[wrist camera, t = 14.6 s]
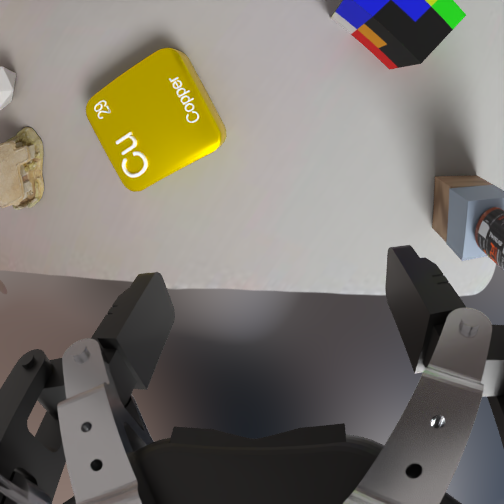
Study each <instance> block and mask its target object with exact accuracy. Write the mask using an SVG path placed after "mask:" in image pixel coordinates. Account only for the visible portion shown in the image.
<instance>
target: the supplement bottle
mask: <svg viewBox="0 0 504 504" xmlns="http://www.w3.org/2000/svg"><path fill="white" fill-rule="evenodd" d="M475 240H476V243H477V245H478V247H479V248H480V249H481V250H482V251H483V252H484V253H485V254H486V255H487V256H488V257H490V258H491V259H492V260H493V261H494V262H495V263H496V264H497V265H498V266H499V267H500V268H501V269H502V270H503V271H504V210H502V209H501V208H498V207H493V208H490V209H488V210H487V211H485V212H484V213H483V214H482V216H481V217H480V219H479V221H478V223H477V225H476V229H475Z"/></svg>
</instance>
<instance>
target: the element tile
mask: <svg viewBox="0 0 504 504" xmlns="http://www.w3.org/2000/svg"><path fill="white" fill-rule="evenodd" d="M86 115H87V118H88V120H89V122H90V124H91V126H92V128H93V130H94V131H95V133H96V135H97V137H98V139H99V141H100V143H101V145H102V147H103V148H104V150H105V152H106V154H107V156H108V158H109V160H110V161H111V163H112V165H113V167H114V169H115V170H116V172H117V174H118V176H119V178H120V179H121V181H122V183H123V184H124V186H125V187H126V188H128V189H129V190H131V191H134V192H135V191H142V190H144V189H145V188H147V187H149V186H150V185H152V184H154V183H156V182H158V181H159V180H161V179H163V178H165V177H167V176H168V175H170V174H172V173H174V172H176V171H178V170H179V169H181V168H183V167H185V166H187V165H189V164H191V163H193V162H195V161H197V160H199V159H201V158H203V157H204V156H206V155H208V154H210V153H212V152H214V151H215V150H216V149H218V148H219V147H220V146H221V145H222V144H223V143H224V142H225V139H226V129H225V126H224V124H223V122H222V120H221V118H220V116H219V114H218V113H217V111H216V109H215V107H214V105H213V103H212V101H211V99H210V97H209V95H208V94H207V92H206V90H205V88H204V86H203V84H202V82H201V80H200V79H199V77H198V75H197V73H196V71H195V69H194V67H193V66H192V64H191V62H190V60H189V58H188V57H187V56H186V55H185V54H184V53H182V52H180V51H178V50H175V49H173V48H163V49H160V50H158V51H156V52H154V53H153V54H151V55H150V56H148V57H147V58H145V59H143V60H142V61H140V62H139V63H137V64H136V65H134V66H133V67H132V68H130V69H129V70H127V71H126V72H124V73H123V74H122V75H120V76H119V77H117V78H116V79H115V80H113V81H112V82H111V83H109V84H108V85H107V86H105V87H104V88H103V89H101V90H100V91H99V92H98V93H96V94H95V95H94V96H93V97H91V99H90V100H89V101H88V103H87V106H86Z"/></svg>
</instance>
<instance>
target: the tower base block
mask: <svg viewBox="0 0 504 504" xmlns="http://www.w3.org/2000/svg"><path fill="white" fill-rule="evenodd" d="M483 185H493V184H491V183H489V182H487V181H486V180H484V179H482V178H480V177H478V176H437V177H435V188H434V208H433V222H432V228H433V229H434V230H435V231H436V232H437V233H438V234H439V235H440V236H441V237H442V238H443V239H444V241H445V242H446V240H447V228H448V211H449V188H458V187H470V186H483Z"/></svg>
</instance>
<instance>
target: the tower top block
mask: <svg viewBox="0 0 504 504" xmlns="http://www.w3.org/2000/svg"><path fill="white" fill-rule="evenodd" d="M493 207H498V208H501V209H502V210H504V191H503V190H501V189H500V188H498V187H496V186H495V185H483V186H470V187H458V188H449V211H448V228H447V240H446V243H447V245H448V246H449V247H450V248H451V249H452V250H453V251H454V252H455V253H456V255H457V256H458V257H459V258H460V259H461V260H462V261H463V260H469V259H474V258H479V257H484V256H487V255H486V254H485V253H484V252H483V251H482V250H481V249H480V248H479V247H478V245H477V243H476V240H475V229H476V225H477V223H478V221H479V219H480V217H481V216H482V214H483V213H484V212H485V211H487V210H488V209H490V208H493Z"/></svg>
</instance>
